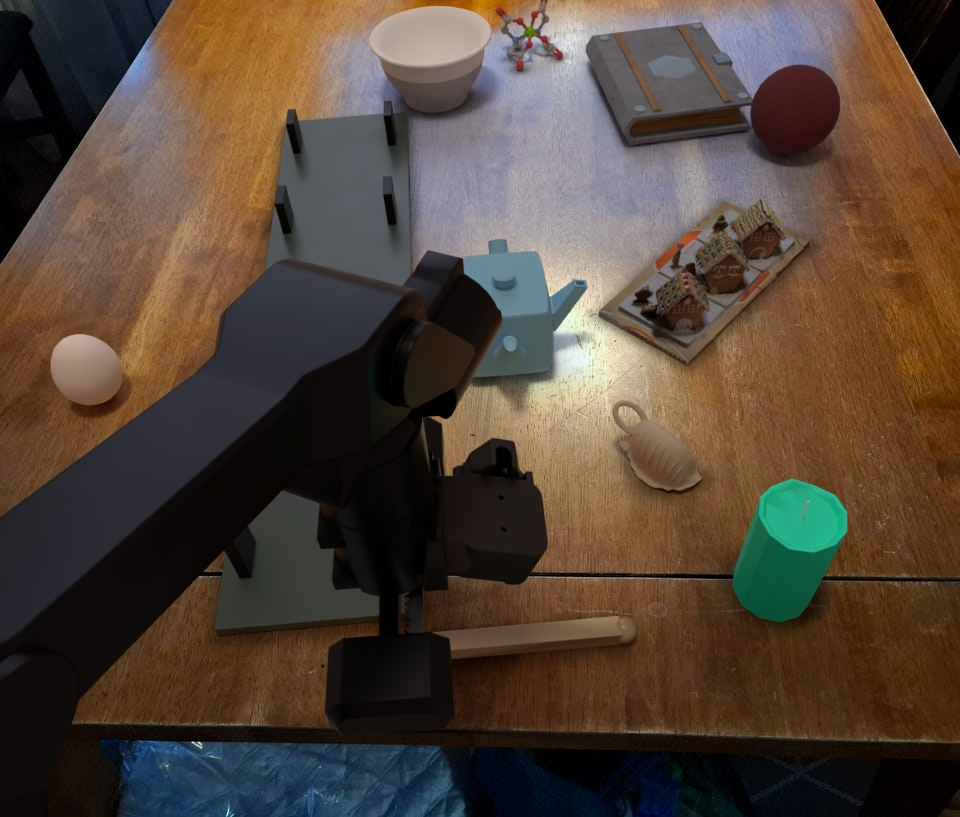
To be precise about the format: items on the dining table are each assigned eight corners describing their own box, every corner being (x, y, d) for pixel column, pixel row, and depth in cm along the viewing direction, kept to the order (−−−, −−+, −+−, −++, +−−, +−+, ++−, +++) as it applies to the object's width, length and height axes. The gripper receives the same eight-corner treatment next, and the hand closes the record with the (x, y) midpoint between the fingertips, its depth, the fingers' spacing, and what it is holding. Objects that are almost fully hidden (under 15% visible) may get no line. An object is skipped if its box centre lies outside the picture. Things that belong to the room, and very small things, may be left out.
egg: (103, 427, 81) (70, 373, 75) (57, 407, 83) (20, 353, 77) (146, 383, 84) (117, 329, 78) (100, 365, 86) (68, 310, 80)
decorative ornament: (670, 506, 72) (678, 469, 68) (602, 446, 76) (605, 408, 72) (703, 480, 74) (713, 442, 69) (634, 423, 78) (640, 384, 74)
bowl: (354, 101, 116) (343, 40, 110) (434, 54, 123) (429, -6, 117) (437, 141, 109) (431, 79, 102) (518, 89, 116) (517, 27, 110)
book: (585, 65, 119) (586, 30, 115) (699, 50, 120) (705, 15, 116) (622, 148, 106) (625, 112, 102) (751, 131, 107) (759, 95, 103)
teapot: (440, 293, 90) (432, 216, 83) (572, 283, 90) (575, 205, 83) (446, 424, 79) (437, 349, 71) (597, 413, 79) (603, 336, 71)
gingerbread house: (598, 317, 87) (601, 268, 82) (722, 207, 97) (732, 157, 92) (687, 366, 82) (696, 317, 77) (809, 245, 92) (824, 194, 87)
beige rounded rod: (638, 646, 64) (640, 635, 63) (392, 668, 64) (389, 657, 63) (633, 622, 65) (635, 610, 64) (392, 643, 65) (389, 632, 64)
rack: (421, 617, 67) (410, 570, 61) (217, 635, 67) (187, 590, 61) (407, 118, 113) (400, 64, 107) (287, 128, 113) (274, 75, 107)
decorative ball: (839, 137, 105) (863, 60, 97) (810, 180, 100) (833, 102, 92) (761, 116, 109) (778, 40, 101) (730, 156, 104) (745, 79, 96)
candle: (827, 598, 66) (874, 513, 57) (768, 636, 64) (807, 555, 55) (773, 541, 69) (809, 452, 60) (715, 575, 68) (743, 489, 58)
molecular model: (493, 51, 123) (491, -1, 117) (542, 37, 125) (542, -15, 119) (515, 73, 119) (514, 20, 113) (566, 58, 121) (567, 5, 115)
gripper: (558, 647, 36) (552, 769, 48) (520, 337, 48) (522, 495, 60) (295, 667, 36) (354, 783, 48) (323, 351, 48) (364, 506, 60)
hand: (408, 626), depth 54 cm, fingers open, 9 cm apart
